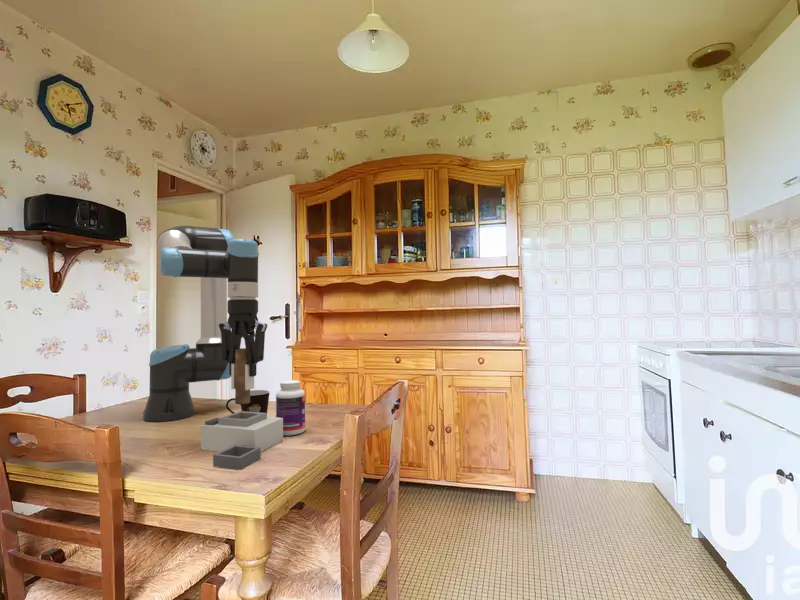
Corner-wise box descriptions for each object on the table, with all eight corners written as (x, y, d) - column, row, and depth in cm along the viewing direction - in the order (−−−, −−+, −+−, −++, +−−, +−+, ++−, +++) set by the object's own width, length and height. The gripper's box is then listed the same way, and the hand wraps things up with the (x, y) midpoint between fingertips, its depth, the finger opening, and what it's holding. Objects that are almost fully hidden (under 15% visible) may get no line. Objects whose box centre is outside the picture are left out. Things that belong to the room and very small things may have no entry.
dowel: (232, 403, 108) (232, 349, 108) (241, 400, 111) (241, 348, 111) (244, 404, 107) (244, 349, 107) (253, 401, 110) (253, 348, 110)
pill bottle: (308, 434, 117) (308, 382, 117) (279, 438, 113) (278, 385, 114) (301, 427, 124) (301, 378, 125) (273, 430, 121) (273, 380, 121)
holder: (213, 466, 93) (213, 455, 93) (234, 455, 100) (234, 445, 100) (240, 469, 91) (240, 458, 91) (260, 458, 98) (260, 447, 98)
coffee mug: (274, 422, 130) (274, 390, 130) (262, 430, 122) (262, 395, 122) (238, 421, 131) (238, 389, 132) (224, 429, 123) (224, 395, 123)
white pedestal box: (200, 449, 105) (200, 419, 105) (233, 435, 116) (233, 408, 117) (254, 455, 100) (254, 423, 100) (283, 440, 112) (282, 412, 112)
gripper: (206, 298, 108) (206, 389, 108) (261, 298, 103) (261, 393, 103) (226, 299, 115) (226, 384, 115) (278, 298, 110) (278, 387, 110)
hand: (242, 388), depth 109 cm, fingers closed on dowel, 3 cm apart
